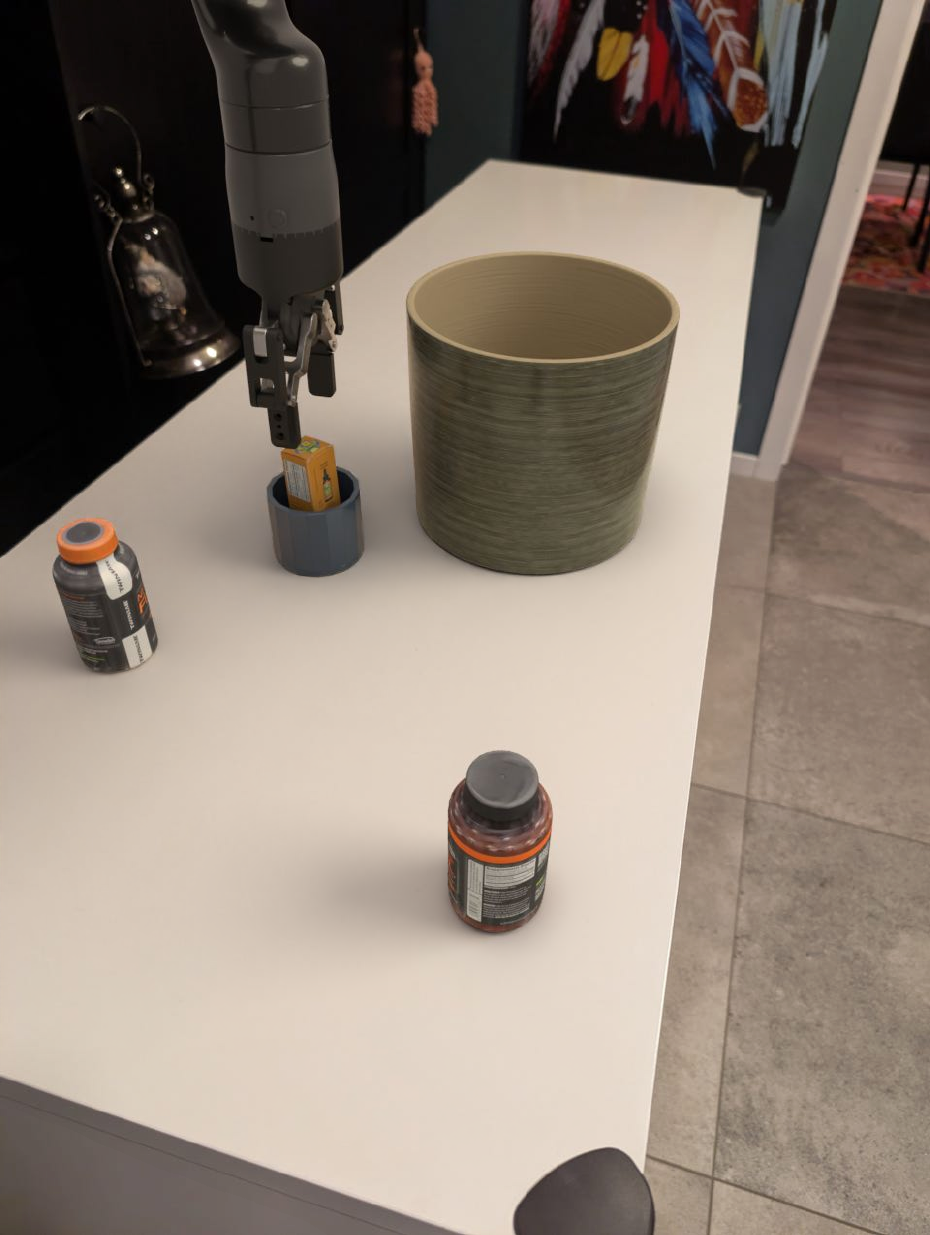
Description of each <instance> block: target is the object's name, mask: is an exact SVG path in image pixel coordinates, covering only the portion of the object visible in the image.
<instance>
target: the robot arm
mask: <svg viewBox="0 0 930 1235" xmlns="http://www.w3.org/2000/svg"><path fill="white" fill-rule="evenodd" d="M190 1H191V4H192V7H193V10H194V14H195V16H196V20H197V23H198V25H199V29H200V32H201V35H202V37H203V40H204V43H205V45H206V47H207V50H208V52H209V55H210V58H211V60H212V64H213V67H214V69H215V76H216V85H217V86H216V87H217V95H218V102H219V103H218V104H219V111H220V117H221V126H222V132H223V133H222V134H223V139H224V140H223V141H224V149H225V150H224V153H225V154H224V156H225V158H224V160H225V161H224V162H225V163H224V169H225V184H226V193H227V200H228V207H229V214H230V215H229V216H230V223H231V224H230V225H231V231H232V238H233V245H234V253H235V260H236V267H237V275H238V278H239V280H240V281H241V282H242V284H244V285H245V286H246V287H248V288H249V289H251V290H253V291H254V292H256V293H257V294H258V295H259V296H260V297H261V311H260V316H259V317H260V318H259V325H252V324H245V325H244V327H243V329H242V341H243V342H242V343H243V351H244V352H243V353H244V362H245V371H246V380H247V388H248V398H249V399H248V400H249V405H250V406H251V407H252V408H261V409H266V410H267V412H266V413H267V418H268V427H269V435H270V442H271V444H272V445H273V446H274V447H275V448H281V449H285V448H287V449H297V448H298V446H299V445H300V443H301V441H302V440H301V438H302V431H301V430H302V429H301V421H300V412H299V403H298V395H299V386H300V380H301V378H302V377H305V376H307V377H306V378H307V387H308V388H307V389H308V393H309V394H310V395H311V396H314V397H322V398H329V399H330V398H332V397H333V396H334V395H335V394H336V392H337V380H336V366H335V365H336V364H335V363H336V362H335V353H336V351H337V348H338V345H339V344H338V338H337V336H342V335H343V332H344V329H345V325H344V316H343V304H342V292H341V281H340V279H342V277H343V274H344V257H343V241H342V240H343V239H342V224H341V208H340V206H341V205H340V193H339V192H340V191H339V177H338V170H337V165H336V160H335V155H334V149H333V140H332V125H331V124H332V122H331V108H330V95H329V94H330V92H329V81H328V72H327V66H326V62H325V58H324V55H323V53H322V51H321V49H320V48H319V46H318V45H317V44H316V43H315V42H313V41H312V39H310V38H308V37H307V36H306V35H304V34H303V33H302V32H301V31H300V30H299V29H298V28H296V26H295V25H294V24H293V22H292V20H291V18H290V16H289V11H288V9H287V6H286V2H285V1H286V0H190ZM330 311H331V312H330ZM285 357H289V358H295V359H294V360H291V361H287V360H285ZM287 375H288V376H287Z"/></svg>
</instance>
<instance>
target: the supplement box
mask: <svg viewBox="0 0 930 1235" xmlns="http://www.w3.org/2000/svg"><path fill="white" fill-rule="evenodd" d="M301 440H302V441H301V443H300V445H299V446H298V448H297V449H287V448H282V449H281V450H280V457H281V464H282V469H283V470H282V471H284V475H285V482H286V488H287V494H288V500H289V506H290V509H291V510H298V511H305V512H312V511H323V510H327V509H330V508H333V507H336V506H339V505H340V504H341V502H340V494H339V486H338V477H337V469H336V466H337V461H336V454H335V446H334V444H332V443H329V442H328V441H327V442H326V441H323V440H321V439H319V438H316V437H313V436H309V435H303V436H301Z"/></svg>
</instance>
